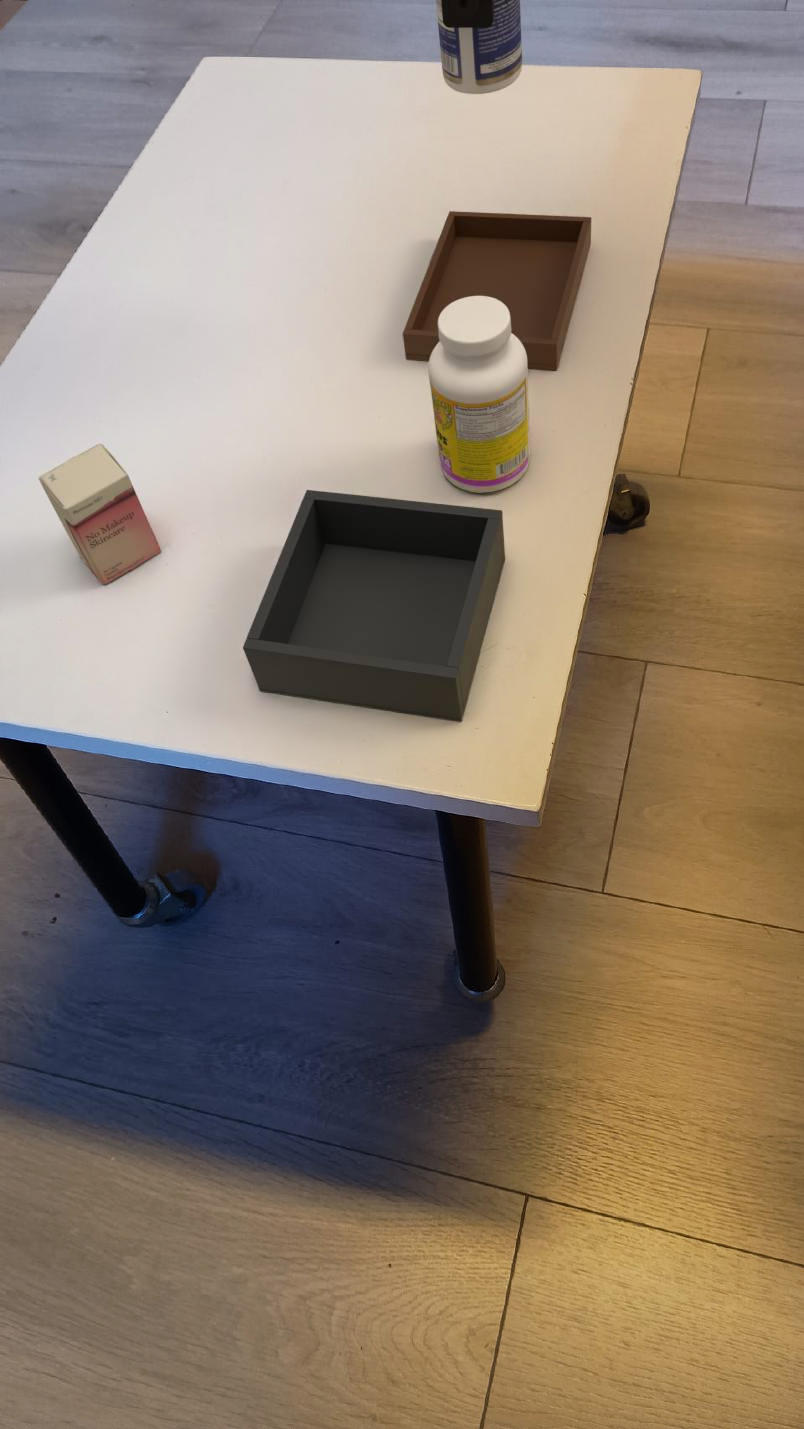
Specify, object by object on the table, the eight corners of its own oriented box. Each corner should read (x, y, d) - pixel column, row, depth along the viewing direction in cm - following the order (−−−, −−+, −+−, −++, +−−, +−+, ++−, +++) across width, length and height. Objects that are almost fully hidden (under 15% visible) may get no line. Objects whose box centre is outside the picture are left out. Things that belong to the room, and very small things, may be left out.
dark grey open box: (319, 537, 80) (306, 489, 76) (505, 558, 77) (502, 509, 73) (259, 691, 73) (242, 647, 69) (461, 722, 70) (455, 678, 66)
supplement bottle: (446, 432, 84) (429, 285, 73) (533, 432, 83) (530, 283, 72) (435, 497, 80) (416, 352, 70) (526, 498, 79) (521, 351, 69)
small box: (104, 587, 79) (62, 510, 73) (77, 554, 82) (35, 476, 75) (164, 552, 81) (129, 472, 74) (136, 519, 83) (100, 440, 76)
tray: (451, 237, 97) (449, 210, 95) (590, 243, 95) (591, 216, 92) (405, 359, 89) (402, 333, 87) (556, 370, 86) (556, 344, 84)
